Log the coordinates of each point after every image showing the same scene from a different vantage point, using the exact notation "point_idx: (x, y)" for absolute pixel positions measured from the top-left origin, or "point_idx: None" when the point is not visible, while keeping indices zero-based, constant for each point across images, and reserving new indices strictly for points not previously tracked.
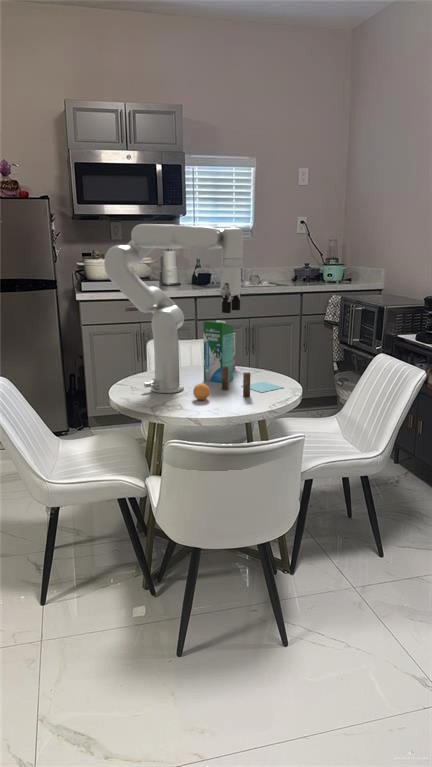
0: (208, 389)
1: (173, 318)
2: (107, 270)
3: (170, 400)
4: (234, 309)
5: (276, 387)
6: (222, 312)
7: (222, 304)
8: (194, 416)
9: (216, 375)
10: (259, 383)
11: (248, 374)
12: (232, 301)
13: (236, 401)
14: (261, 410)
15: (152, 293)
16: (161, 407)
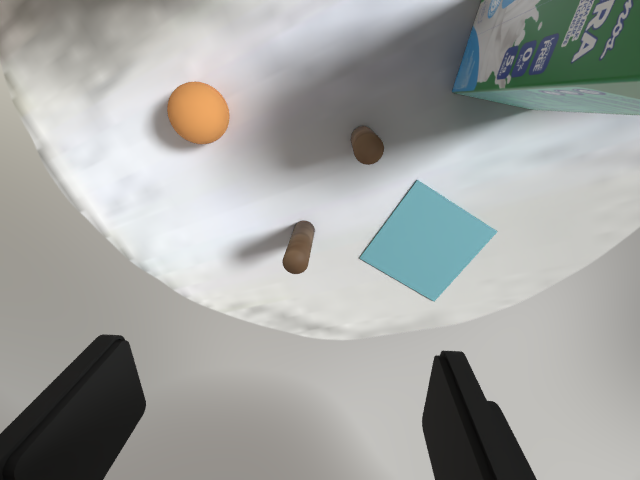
0: (199, 142)
1: None
2: None
3: (149, 3)
4: (429, 386)
5: (427, 283)
6: (106, 336)
7: (19, 424)
8: (62, 162)
9: (470, 61)
10: (467, 225)
11: (287, 268)
12: (474, 475)
13: (244, 219)
14: (200, 295)
15: None
16: (66, 17)
